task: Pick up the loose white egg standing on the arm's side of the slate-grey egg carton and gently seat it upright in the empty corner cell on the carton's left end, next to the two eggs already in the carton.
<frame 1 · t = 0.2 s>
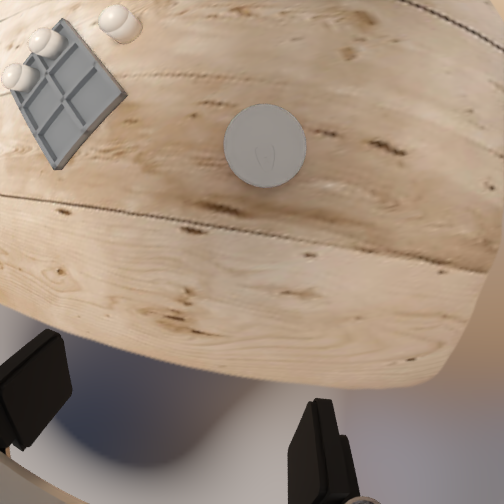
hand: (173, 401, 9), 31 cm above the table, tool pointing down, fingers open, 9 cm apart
canned food: (267, 153, 37), on the table
egg carton: (60, 88, 35), on the table
loose egg: (128, 31, 33), on the table
seated egg 1: (31, 80, 35), resting on egg carton
seated egg 2: (58, 48, 33), resting on egg carton
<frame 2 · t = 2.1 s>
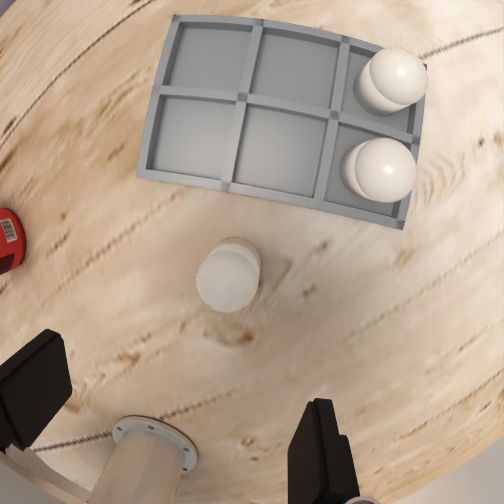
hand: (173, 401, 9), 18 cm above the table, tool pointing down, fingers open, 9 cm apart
canned food: (9, 237, 29), on the table
egg carton: (287, 110, 24), on the table
loose egg: (235, 262, 27), on the table
seated egg 1: (377, 92, 22), resting on egg carton
seated egg 2: (364, 170, 24), point 1 cm above the table, touching egg carton
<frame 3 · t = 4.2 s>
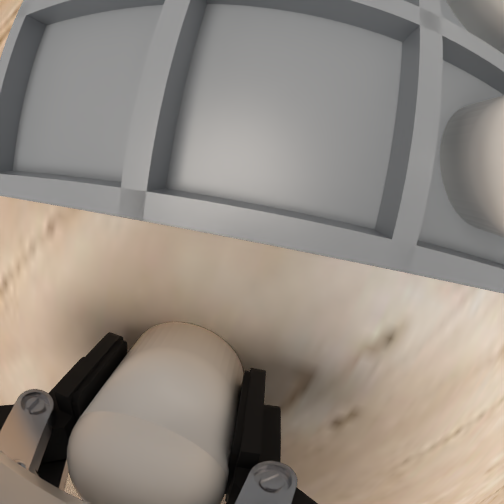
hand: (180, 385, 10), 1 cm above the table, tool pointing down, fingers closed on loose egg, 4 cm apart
egg carton: (306, 12, 8), on the table
loose egg: (186, 371, 11), on the table, touching gripper
seated egg 1: (485, 10, 6), resting on egg carton
seated egg 2: (487, 166, 8), point 1 cm above the table, touching egg carton
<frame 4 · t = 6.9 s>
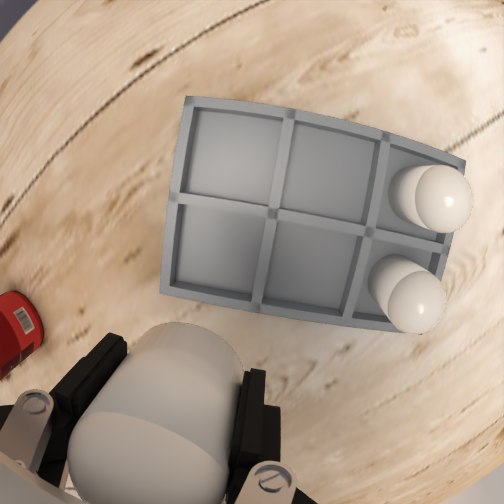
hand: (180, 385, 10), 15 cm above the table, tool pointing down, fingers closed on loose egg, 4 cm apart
canned food: (24, 318, 28), on the table
egg carton: (318, 219, 23), on the table
loose egg: (187, 372, 11), point 14 cm above the table, touching gripper
seated egg 1: (412, 194, 22), resting on egg carton
seated egg 2: (392, 280, 24), point 1 cm above the table, touching egg carton
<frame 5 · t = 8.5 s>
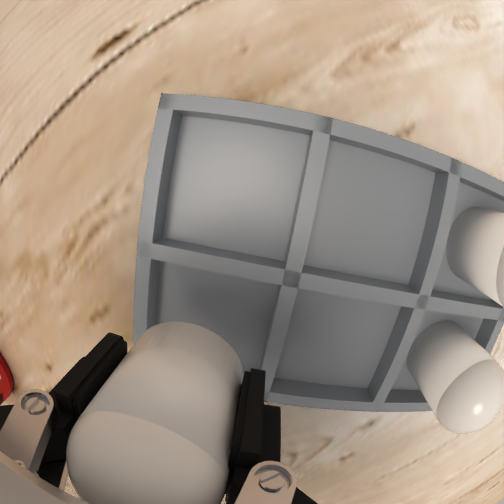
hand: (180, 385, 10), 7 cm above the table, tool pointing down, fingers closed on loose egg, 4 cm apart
egg carton: (353, 279, 16), on the table
loose egg: (186, 371, 11), point 6 cm above the table, touching gripper
seated egg 1: (473, 244, 15), resting on egg carton
seated egg 2: (436, 351, 17), point 1 cm above the table, touching egg carton
when the fingers open (3 cm above the table, at t = 9.6 s): loose egg drops 2 cm, resting on egg carton.
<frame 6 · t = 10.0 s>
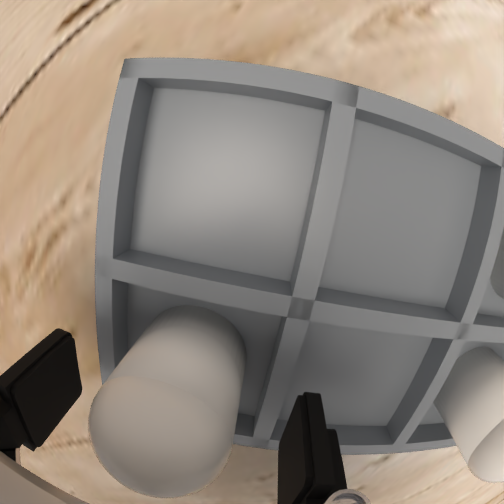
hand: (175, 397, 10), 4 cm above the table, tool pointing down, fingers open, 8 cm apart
egg carton: (378, 302, 12), on the table
loose egg: (194, 351, 13), point 1 cm above the table, touching egg carton
seated egg 2: (466, 381, 12), point 1 cm above the table, touching egg carton
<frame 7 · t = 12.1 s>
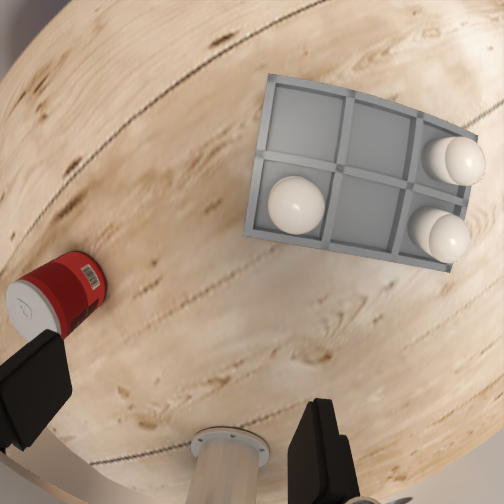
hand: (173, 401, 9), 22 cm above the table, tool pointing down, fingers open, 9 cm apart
canned food: (83, 278, 34), on the table
egg carton: (370, 176, 28), on the table
loose egg: (292, 198, 29), point 1 cm above the table, touching egg carton
seated egg 1: (438, 159, 26), resting on egg carton
seated egg 2: (425, 226, 28), point 1 cm above the table, touching egg carton
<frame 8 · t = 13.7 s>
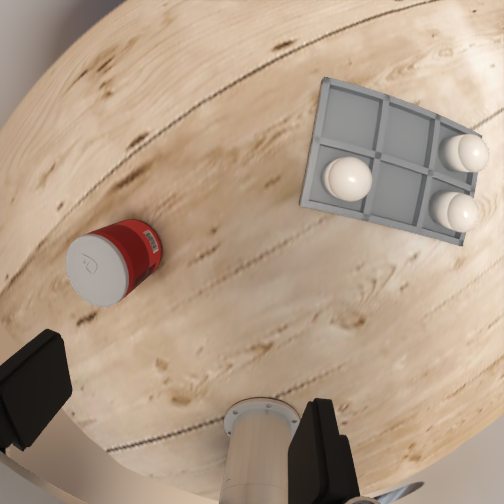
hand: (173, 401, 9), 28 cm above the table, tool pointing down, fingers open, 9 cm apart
canned food: (137, 247, 38), on the table
egg carton: (399, 164, 33), on the table
loose egg: (339, 178, 34), point 1 cm above the table, touching egg carton
seated egg 1: (451, 154, 32), resting on egg carton
seated egg 2: (441, 207, 33), point 1 cm above the table, touching egg carton
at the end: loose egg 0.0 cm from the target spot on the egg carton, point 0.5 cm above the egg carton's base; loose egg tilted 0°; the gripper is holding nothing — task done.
